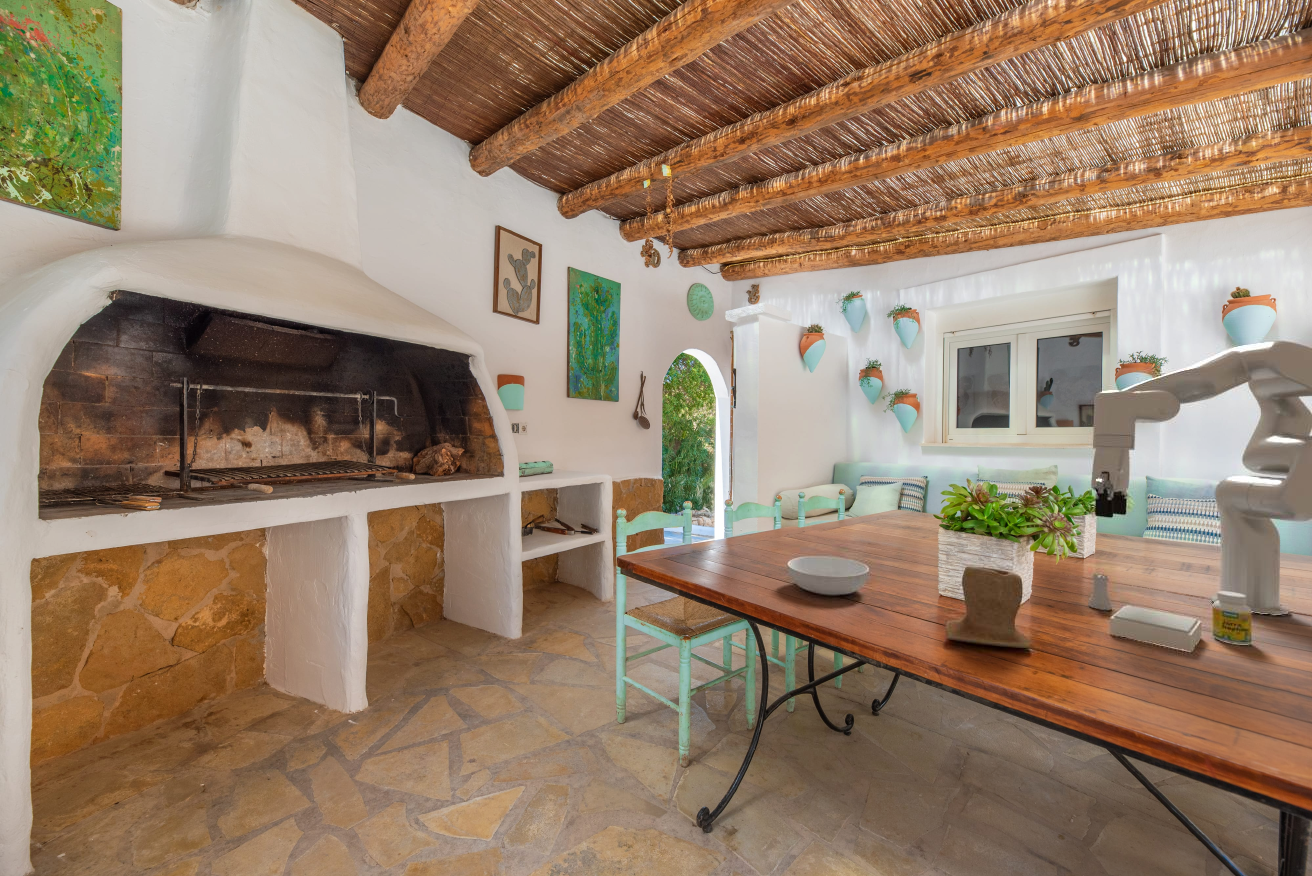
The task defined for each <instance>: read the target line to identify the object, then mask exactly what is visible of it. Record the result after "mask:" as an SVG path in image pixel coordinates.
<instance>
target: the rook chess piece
mask: <svg viewBox="0 0 1312 876" xmlns="http://www.w3.org/2000/svg"><path fill="white" fill-rule="evenodd" d="M1091 579H1092V580H1093V583H1092V585H1093V590H1092V594H1091V596H1090V597H1089V599H1088V601H1089V603H1088V606H1089V608H1092V609H1094V608H1095V610H1098V609H1099V610H1098V611H1111V609H1113V606H1111V605H1113V603H1112V601H1111V600H1110V598H1109V594H1108V586H1109V585H1108V584H1107V583H1108V581H1109V580H1110V579H1109V578H1108V575H1107V574H1104V573H1102V574H1101V573H1096V572H1095V573H1093V576H1091Z"/></svg>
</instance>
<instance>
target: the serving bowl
mask: <svg viewBox="0 0 1312 876" xmlns="http://www.w3.org/2000/svg"><path fill="white" fill-rule="evenodd" d="M786 568H787V572H788V575H789V576H790V579H791V580H792V582H793V583H795V585H796V586H798V587H800V588H801V589H803V590H806V591H808V592H811V593H815V594H818V595H823V596H840V595H847V594H852V593H854V592H855V593H856V592H857V591H858V590H861V589H862V588H863V586H865V584H866V583H867V581H868V578H869V574H870V573H869V572H870V569H869V566H868V565H866V564H865V563H862V562H860V561H857V560H853V559H849V558H843V557H837V556H836V557H835V556H827V555H826V556H825V555H824V556H823V555H822V556H821V555H812V556H811V555H809V556H801V557H800V556H799V557H794V558H792V559H790V560H789V561H788V562H787V567H786Z"/></svg>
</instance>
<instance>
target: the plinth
mask: <svg viewBox="0 0 1312 876" xmlns="http://www.w3.org/2000/svg"><path fill="white" fill-rule="evenodd" d="M1109 618H1110V619H1109V621H1110V622H1109V635H1110V634H1111V636H1114V635H1115V637H1118V636H1121V637H1120V638H1122V637H1127V638H1131V639H1136V640H1141V641H1147V642H1151V643H1156V644H1160V645H1165V646H1169V647H1174V648H1178V649H1184V650H1187V651H1192V649H1193V648H1194V646H1195V645H1196V643H1197V642H1198V640H1199V639H1200V637H1201V638H1202V621H1201V620H1198V618H1195V617H1190V616H1185V615H1181V614H1175V613H1169V612H1166V611H1165V612H1164V611H1159V610H1155V609H1150V608H1146V607H1145V608H1143V607H1140V606H1139V607H1138V606H1133V605H1129V604H1127V605H1125V606H1123V607H1122V608H1120V610H1118V611H1117V612H1115V614H1113V615H1112V616H1110V617H1109ZM1127 638H1126V639H1127ZM1131 639H1130V640H1131ZM1200 640H1201V639H1200ZM1198 643H1199V642H1198ZM1196 646H1197V645H1196ZM1194 649H1195V648H1194ZM1192 652H1193V651H1192Z"/></svg>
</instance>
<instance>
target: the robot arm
mask: <svg viewBox="0 0 1312 876" xmlns="http://www.w3.org/2000/svg"><path fill="white" fill-rule="evenodd" d="M1246 383H1247V384H1248V388H1249V390H1250V392H1251V393H1252V396H1253V397H1254V398H1255V400H1256V402H1257V404H1258V407H1259V409H1260V417H1259V420H1258V423H1257V425H1256V427H1255V429H1254V431H1253V433H1252V435H1251V437H1250V439H1249V441H1248V443H1247V445H1246V446H1245V449H1244V452H1243V454H1242V459H1241V461H1242V465H1243V466H1244V468H1246V469H1247V470H1248V471H1251V472H1253V473H1257V474H1261V475H1269V476H1260V475H1241V474H1240V475H1233V476H1229V477H1225V478H1224V479H1222V480H1220V482H1219V483H1218V484H1217V485H1216V487H1215V490H1214V498H1215V499H1214V500H1215V502H1216V506H1217V510H1218V514H1219V521H1220V522H1219V523H1220V576H1219V577H1220V578H1219V579H1220V580H1219V581H1220V583H1219V585H1220V586H1219V587H1220V589H1219V591H1227V592H1235V593H1239V594H1243V595H1245V596H1246V603H1245V604H1244V605H1246V606H1248V607H1249V608H1250V609H1251V611H1254V612H1260V613H1268V614H1285V613H1288V612H1289V611H1290V608H1289V607H1287V606H1286V605H1283V604H1281V603H1280V586H1281V585H1280V578H1281V577H1280V573H1281V572H1280V570H1281V569H1280V568H1281V566H1280V565H1281V536H1280V534H1279V533H1280V532H1279V530H1278V528H1277V527H1276V525H1275V524H1274V522H1273V520H1279V521H1287V522H1301V523H1302V522H1307V521H1310V520H1312V435H1310V434H1311V433H1312V412H1311V410H1310V409H1309V408H1308V406H1307V405H1306V404H1305V403H1304V402H1303V401H1302V399H1301V397H1312V347H1309V346H1307V345H1304V344H1300V343H1297V342H1292V341H1286V340H1274V341H1266V342H1259V343H1254V344H1245V345H1239V346H1236V347H1235V346H1234V347H1232V348H1229V349H1227V350H1224V351H1221V352H1220V353H1218V354H1216V355H1213V356H1211V357H1208V358H1206V359H1204V360H1202V361H1200V362H1197V363H1195V364H1194V365H1191V366H1188V367H1186V368H1183V369H1179V370H1175V371H1173V372H1170V373H1169V372H1168V373H1167V374H1164V375H1161V376H1157V377H1155V378H1152V379H1148V380H1145V381H1142V382H1140V383H1136V384H1134V385H1132V386H1129V387H1127V388H1124V389H1122V390H1104V391H1100V392H1098V393H1096V395H1095V396H1094V402H1093V403H1094V405H1093V433H1092V434H1093V436H1092V449H1094V456H1093V460H1092V461H1093V462H1092V470H1091V471H1092V472H1091V483H1090V484H1091V485H1090V488H1091V489H1092V490H1094V491H1095V492H1096V493H1095V504H1094V506H1095V507H1094V508H1095V509H1094V516H1096V517H1102V518H1109V519H1110V518H1113V517H1114V515H1122V516H1126V515H1127V502H1128V501H1127V500H1128V499H1127V496H1128V493H1127V490H1128V489H1129V485H1130V465H1131V464H1130V463H1131V462H1130V459H1131V458H1130V451H1135V447H1136V445H1135V444H1136V443H1135V441H1136V424H1138V423H1139V424H1140V423H1141V424H1147V423H1148V424H1151V423H1152V424H1155V423H1156V424H1157V423H1158V424H1159V423H1163V422H1167V421H1170V420H1172V419H1174V418H1175V417H1176V416H1177V415H1178V413H1179V412H1180V410H1181V405H1185V404H1191V403H1197V402H1200V401H1206V400H1209V399H1212V398H1215V397H1218V396H1219V395H1221V394H1223V393H1226V392H1228V391H1230V390H1232V389H1235V388H1237V387H1239V386H1241V385H1245V384H1246ZM1273 476H1277V477H1273ZM1278 476H1282V477H1278ZM1272 519H1273V520H1272ZM1211 600H1212V601H1213V602H1216V601H1219V599H1218V598H1217V594H1213V595H1212V596H1211V597H1210V601H1211ZM1212 601H1211V602H1212ZM1213 602H1212V603H1213Z"/></svg>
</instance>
